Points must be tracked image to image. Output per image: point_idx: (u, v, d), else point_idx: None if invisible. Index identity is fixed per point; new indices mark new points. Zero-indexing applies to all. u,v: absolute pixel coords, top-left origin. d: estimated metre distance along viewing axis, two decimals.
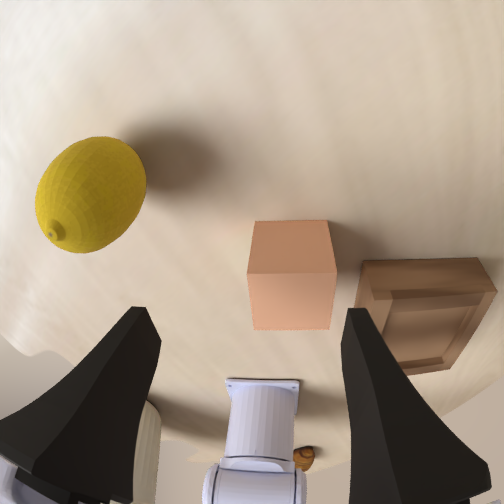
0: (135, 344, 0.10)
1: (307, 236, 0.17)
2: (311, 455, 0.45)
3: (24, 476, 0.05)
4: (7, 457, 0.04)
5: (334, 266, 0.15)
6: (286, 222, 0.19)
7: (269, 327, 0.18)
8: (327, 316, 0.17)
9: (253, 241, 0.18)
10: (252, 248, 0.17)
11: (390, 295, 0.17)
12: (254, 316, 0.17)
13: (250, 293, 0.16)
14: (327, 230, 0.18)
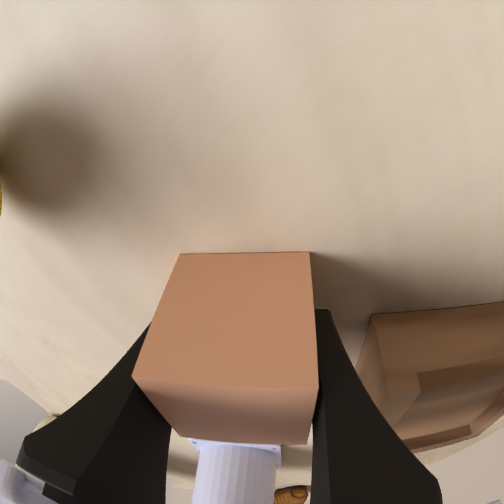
0: None
1: (267, 291, 0.09)
2: (303, 495, 0.36)
3: (53, 492, 0.05)
4: (41, 477, 0.04)
5: (314, 369, 0.07)
6: (232, 258, 0.10)
7: (202, 437, 0.09)
8: (301, 434, 0.08)
9: (163, 299, 0.09)
10: (157, 315, 0.08)
11: (416, 383, 0.09)
12: (173, 424, 0.09)
13: (151, 400, 0.08)
14: (308, 276, 0.09)
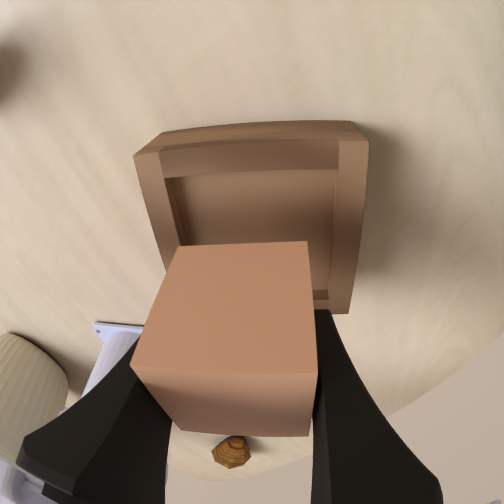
0: None
1: (265, 279, 0.09)
2: (241, 446, 0.40)
3: (52, 492, 0.05)
4: (41, 477, 0.04)
5: (313, 355, 0.07)
6: (230, 249, 0.10)
7: (203, 430, 0.09)
8: (303, 424, 0.08)
9: (162, 289, 0.09)
10: (155, 305, 0.08)
11: (159, 149, 0.12)
12: (173, 417, 0.09)
13: (150, 391, 0.08)
14: (306, 264, 0.09)
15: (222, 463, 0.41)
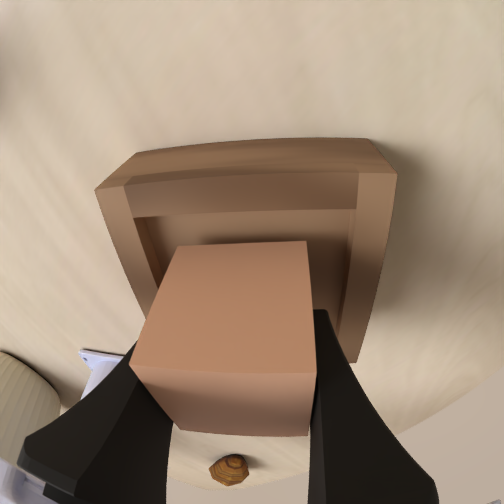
0: None
1: (264, 278, 0.09)
2: (239, 466, 0.37)
3: (54, 493, 0.05)
4: (42, 478, 0.04)
5: (311, 354, 0.07)
6: (229, 248, 0.10)
7: (202, 430, 0.09)
8: (302, 424, 0.08)
9: (161, 289, 0.09)
10: (154, 304, 0.08)
11: (125, 181, 0.10)
12: (172, 417, 0.09)
13: (149, 391, 0.08)
14: (305, 263, 0.09)
15: (220, 481, 0.39)
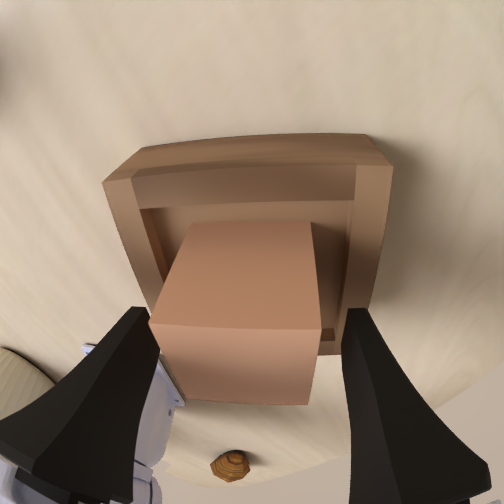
0: (135, 344, 0.10)
1: (273, 251, 0.10)
2: (240, 461, 0.38)
3: (24, 476, 0.05)
4: (7, 457, 0.04)
5: (317, 314, 0.08)
6: (240, 226, 0.11)
7: (208, 397, 0.10)
8: (304, 390, 0.09)
9: (178, 259, 0.10)
10: (172, 272, 0.09)
11: (132, 174, 0.10)
12: (181, 382, 0.10)
13: (163, 352, 0.09)
14: (309, 240, 0.10)
15: (221, 477, 0.39)
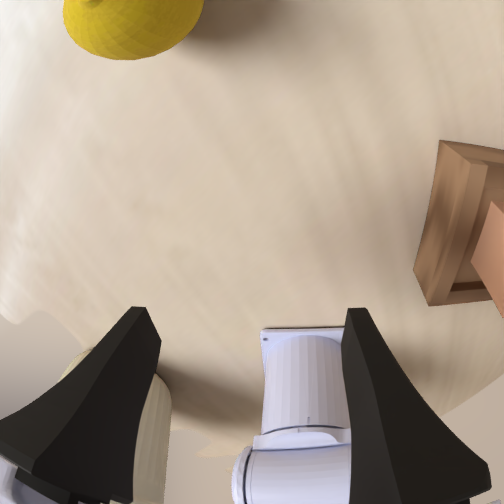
0: (135, 344, 0.10)
1: None
2: None
3: (24, 476, 0.05)
4: (7, 457, 0.04)
5: None
6: None
7: None
8: None
9: None
10: None
11: (483, 163, 0.12)
12: None
13: None
14: None
15: None
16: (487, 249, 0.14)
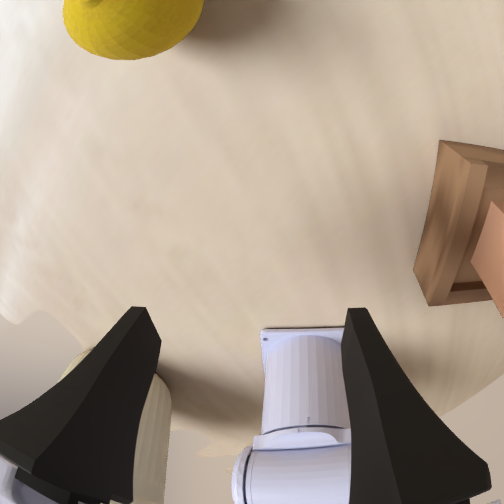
0: (135, 344, 0.10)
1: None
2: None
3: (24, 476, 0.05)
4: (7, 457, 0.04)
5: None
6: None
7: None
8: None
9: None
10: None
11: (483, 163, 0.12)
12: None
13: None
14: None
15: None
16: (487, 249, 0.14)
